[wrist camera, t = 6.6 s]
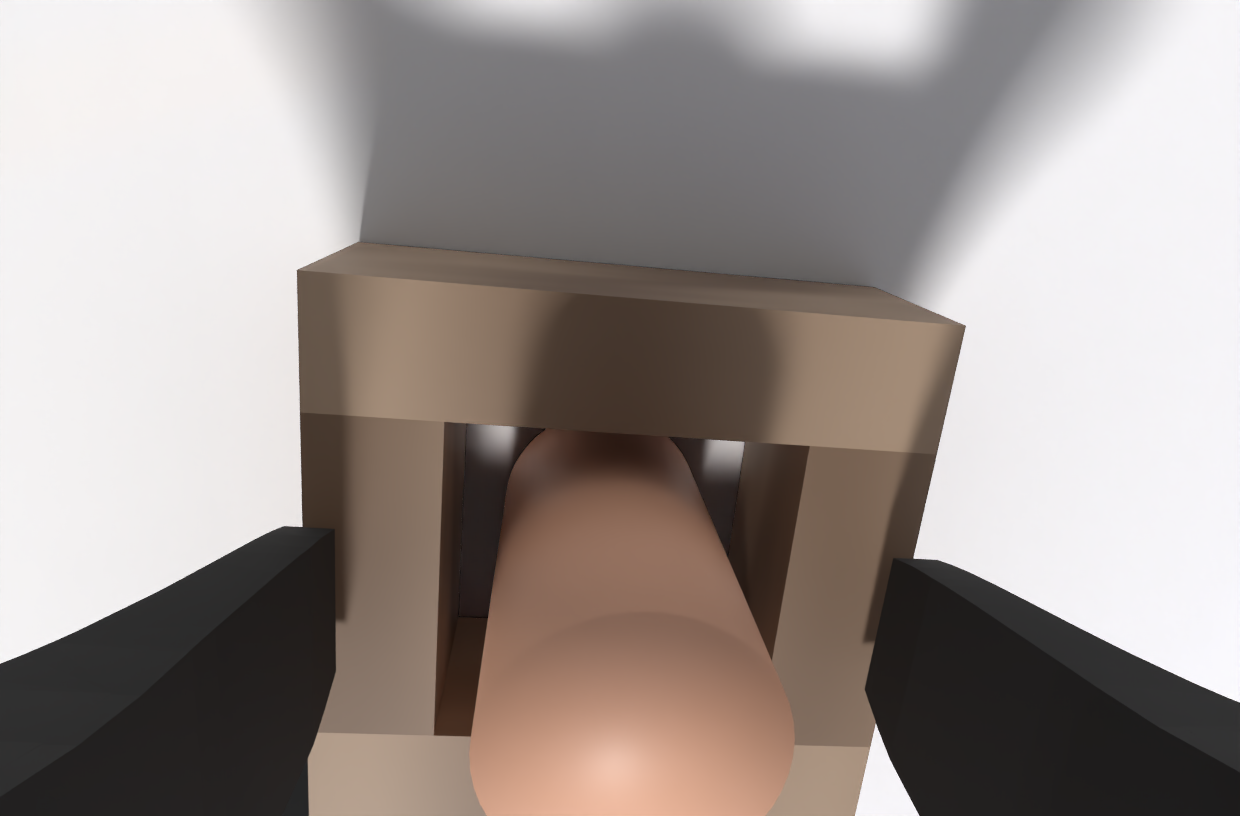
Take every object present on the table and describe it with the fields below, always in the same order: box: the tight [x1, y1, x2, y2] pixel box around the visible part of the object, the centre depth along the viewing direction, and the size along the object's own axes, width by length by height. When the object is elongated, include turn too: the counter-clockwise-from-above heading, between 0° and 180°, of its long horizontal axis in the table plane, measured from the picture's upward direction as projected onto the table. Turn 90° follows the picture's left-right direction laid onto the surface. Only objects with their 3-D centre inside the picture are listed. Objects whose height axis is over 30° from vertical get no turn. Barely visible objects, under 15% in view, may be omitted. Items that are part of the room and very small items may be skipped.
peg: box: [469, 429, 795, 816], centre depth 11 cm, size 3×3×6 cm
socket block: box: [297, 242, 966, 816], centre depth 12 cm, size 8×8×3 cm
